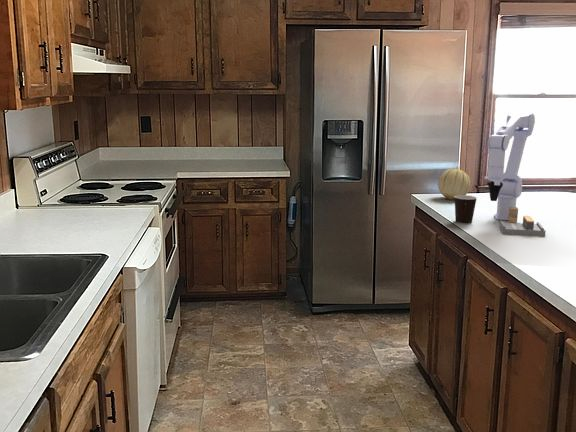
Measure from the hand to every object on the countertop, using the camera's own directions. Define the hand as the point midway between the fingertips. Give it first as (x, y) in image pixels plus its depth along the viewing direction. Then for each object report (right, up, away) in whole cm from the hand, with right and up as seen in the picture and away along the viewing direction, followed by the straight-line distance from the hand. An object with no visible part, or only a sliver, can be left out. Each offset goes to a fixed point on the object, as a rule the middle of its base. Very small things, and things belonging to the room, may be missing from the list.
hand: (493, 200), depth 249 cm
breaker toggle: (+10, -10, -8) cm, 16 cm away
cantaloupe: (-2, +2, +54) cm, 54 cm away
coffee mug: (-10, -9, +7) cm, 15 cm away
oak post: (+8, -10, +3) cm, 13 cm away
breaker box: (+8, -12, -7) cm, 16 cm away
